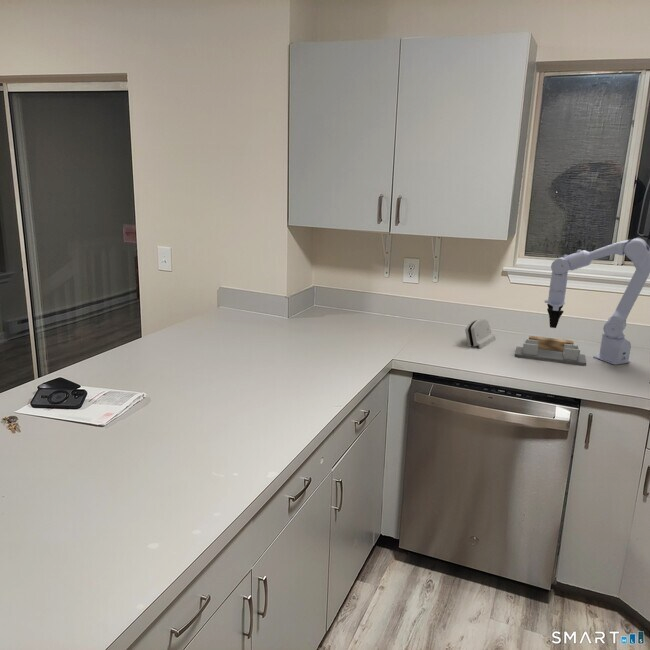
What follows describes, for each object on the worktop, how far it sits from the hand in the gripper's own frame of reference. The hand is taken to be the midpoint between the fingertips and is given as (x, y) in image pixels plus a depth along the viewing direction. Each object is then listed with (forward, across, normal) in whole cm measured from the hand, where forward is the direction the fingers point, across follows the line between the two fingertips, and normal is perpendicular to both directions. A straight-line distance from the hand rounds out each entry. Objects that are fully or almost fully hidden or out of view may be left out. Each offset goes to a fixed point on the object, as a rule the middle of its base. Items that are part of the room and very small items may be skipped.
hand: (552, 325), depth 222 cm
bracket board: (+9, +11, 0) cm, 14 cm away
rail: (+10, 0, 0) cm, 10 cm away
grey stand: (+10, +3, -26) cm, 28 cm away
